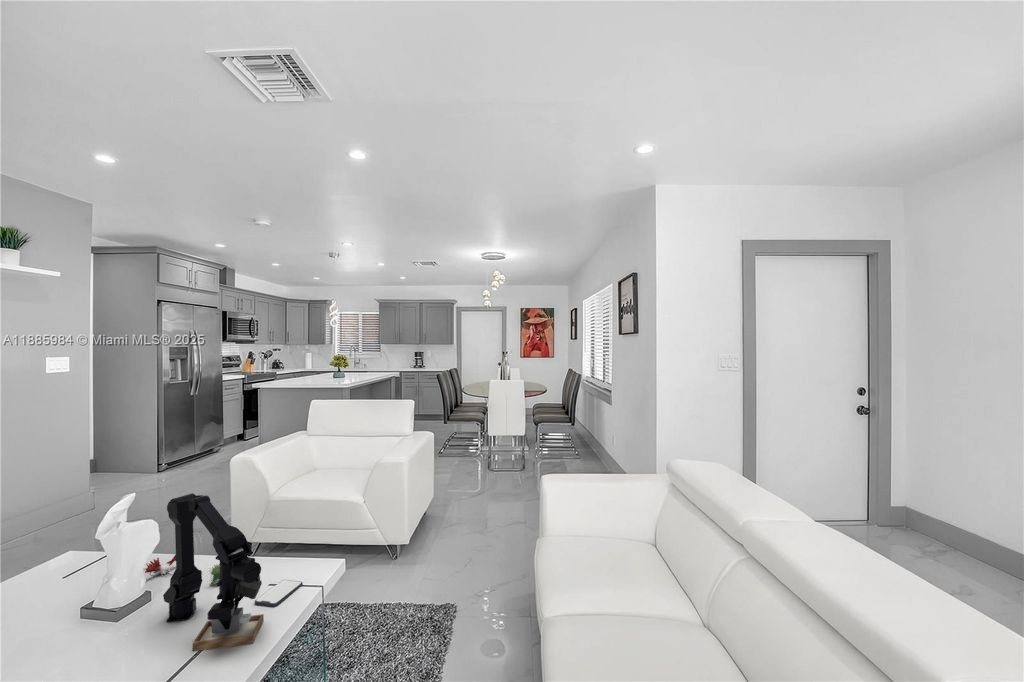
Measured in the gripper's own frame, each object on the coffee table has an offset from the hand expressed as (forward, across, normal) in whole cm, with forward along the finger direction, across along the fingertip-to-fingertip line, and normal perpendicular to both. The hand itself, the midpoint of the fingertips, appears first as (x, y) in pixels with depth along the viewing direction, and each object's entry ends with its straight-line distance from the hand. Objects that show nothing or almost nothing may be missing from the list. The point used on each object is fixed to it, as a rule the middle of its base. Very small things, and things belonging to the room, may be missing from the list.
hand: (229, 625), depth 145 cm
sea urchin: (+4, +34, +15) cm, 37 cm away
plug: (+1, 0, 0) cm, 1 cm away
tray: (+3, 0, 0) cm, 3 cm away
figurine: (+4, +48, +39) cm, 62 cm away
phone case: (+4, +22, -9) cm, 24 cm away
